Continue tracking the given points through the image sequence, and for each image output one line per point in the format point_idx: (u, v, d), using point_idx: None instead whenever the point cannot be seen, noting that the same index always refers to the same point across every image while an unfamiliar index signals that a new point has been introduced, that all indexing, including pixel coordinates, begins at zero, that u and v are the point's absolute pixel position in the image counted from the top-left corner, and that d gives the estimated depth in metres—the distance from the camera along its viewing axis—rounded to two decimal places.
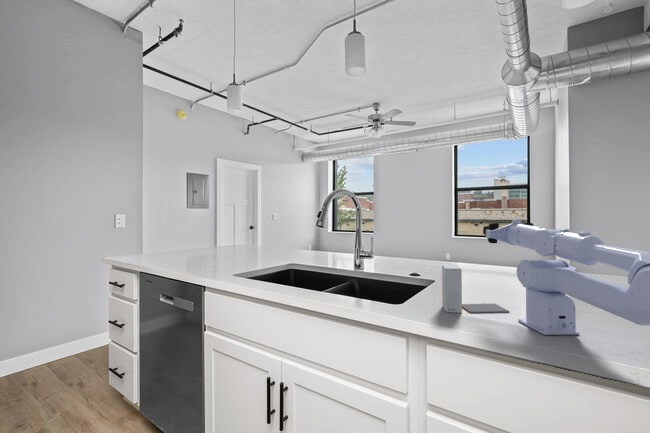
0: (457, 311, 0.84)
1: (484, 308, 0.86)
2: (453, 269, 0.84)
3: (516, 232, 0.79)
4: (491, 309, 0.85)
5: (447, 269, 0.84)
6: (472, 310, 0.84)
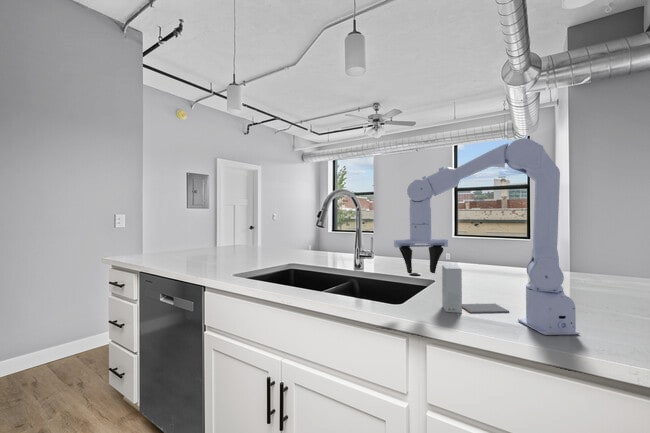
0: (457, 311, 0.84)
1: (484, 308, 0.86)
2: (453, 269, 0.84)
3: None
4: (491, 309, 0.85)
5: (447, 269, 0.84)
6: (472, 310, 0.84)
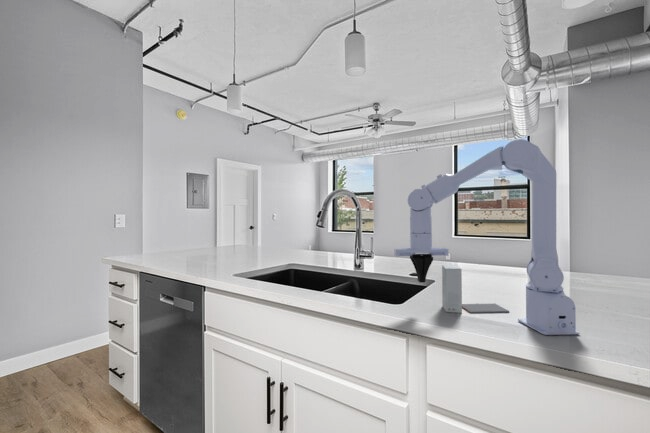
0: (457, 311, 0.84)
1: (484, 308, 0.86)
2: (453, 269, 0.84)
3: (410, 234, 0.88)
4: (491, 309, 0.85)
5: (447, 269, 0.84)
6: (472, 310, 0.84)
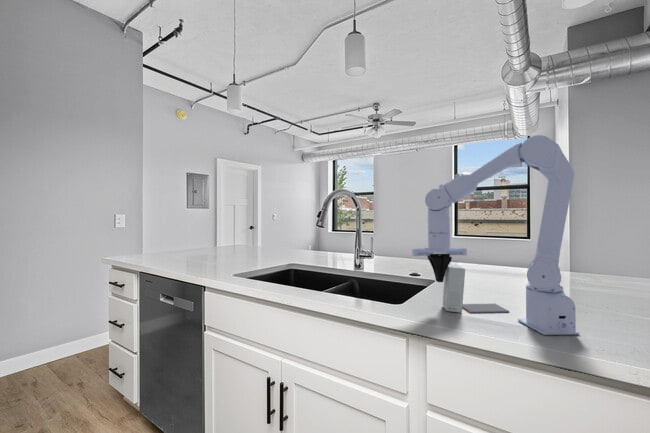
0: (457, 311, 0.84)
1: (484, 308, 0.86)
2: (457, 269, 0.84)
3: (428, 234, 0.88)
4: (491, 309, 0.85)
5: (451, 268, 0.84)
6: (472, 310, 0.84)
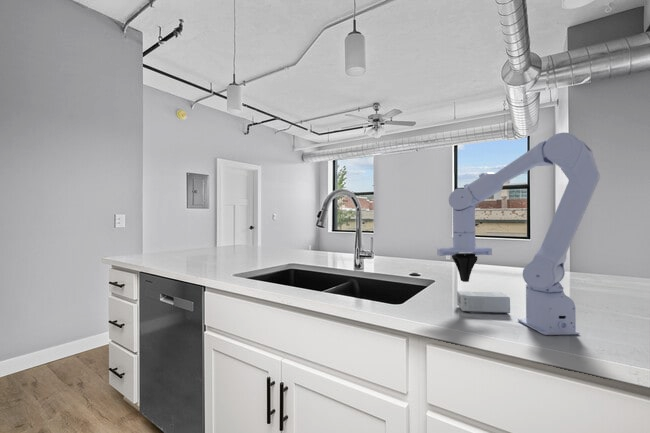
0: (463, 306, 0.84)
1: None
2: (509, 304, 0.82)
3: (453, 233, 0.88)
4: None
5: (509, 299, 0.82)
6: None
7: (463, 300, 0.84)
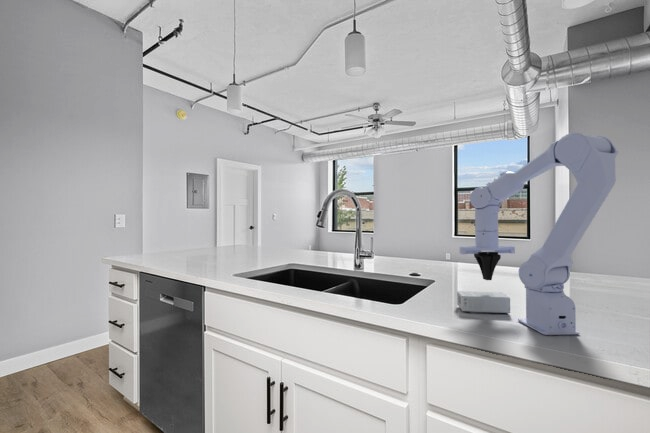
0: (463, 307, 0.84)
1: None
2: (509, 305, 0.81)
3: (475, 232, 0.88)
4: None
5: (509, 299, 0.81)
6: None
7: (463, 300, 0.83)
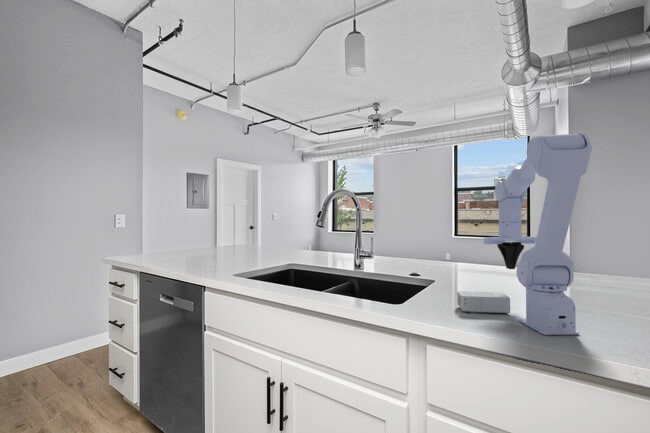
0: (463, 307, 0.84)
1: None
2: (509, 305, 0.81)
3: (499, 223, 0.92)
4: None
5: (509, 299, 0.81)
6: None
7: (463, 300, 0.83)
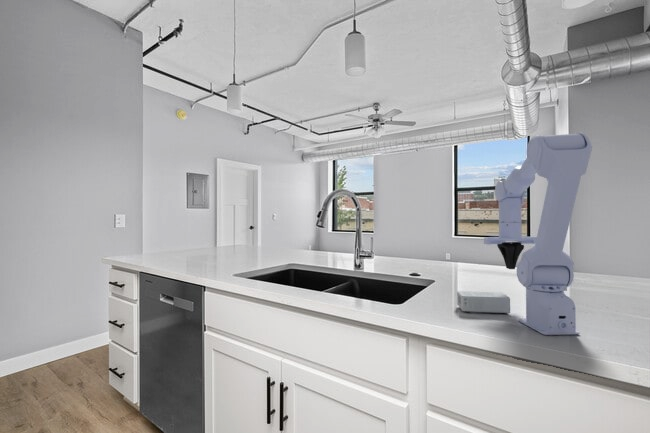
0: (463, 307, 0.84)
1: None
2: (509, 305, 0.81)
3: (499, 223, 0.92)
4: None
5: (509, 299, 0.81)
6: None
7: (463, 300, 0.83)
